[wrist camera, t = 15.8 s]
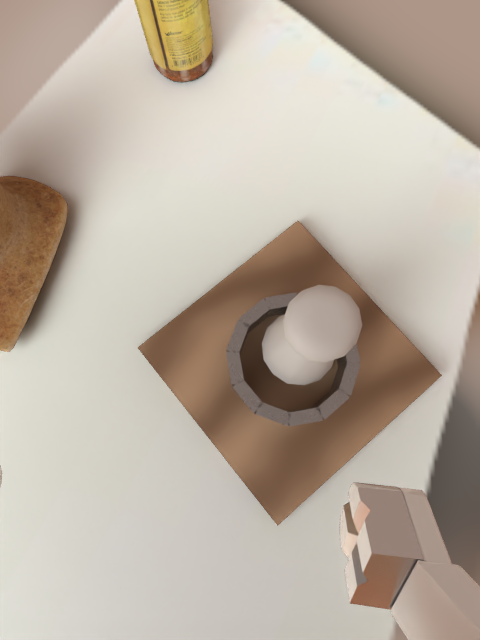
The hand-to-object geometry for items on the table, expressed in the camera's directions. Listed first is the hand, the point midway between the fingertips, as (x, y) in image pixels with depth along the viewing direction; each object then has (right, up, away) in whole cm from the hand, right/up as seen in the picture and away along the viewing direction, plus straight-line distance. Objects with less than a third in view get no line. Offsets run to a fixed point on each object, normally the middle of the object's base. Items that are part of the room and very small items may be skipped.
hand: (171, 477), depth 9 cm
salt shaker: (+6, +1, +26) cm, 26 cm away
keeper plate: (+6, 0, +26) cm, 27 cm away
